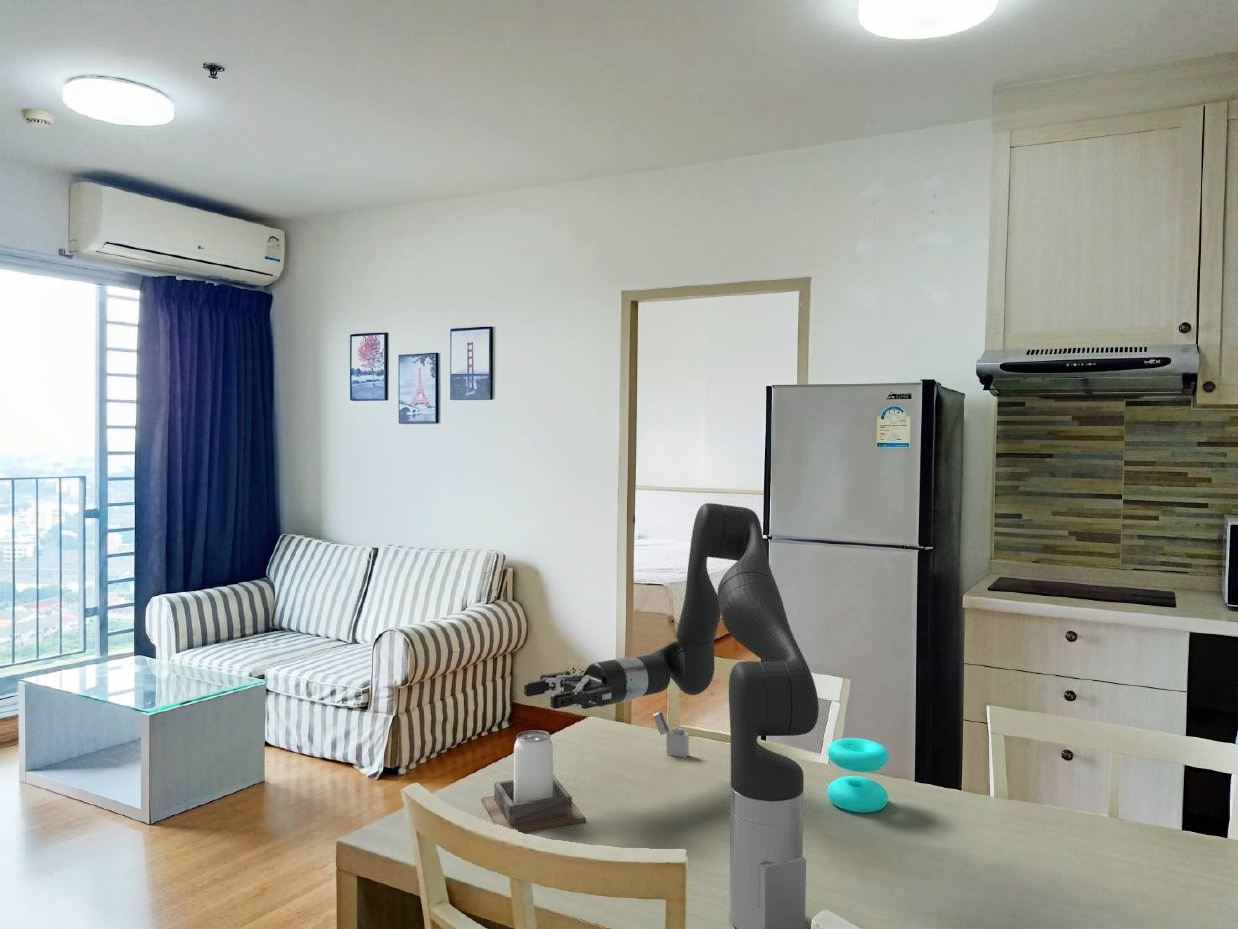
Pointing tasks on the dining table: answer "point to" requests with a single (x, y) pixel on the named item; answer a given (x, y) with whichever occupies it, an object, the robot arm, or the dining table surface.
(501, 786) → the can stand
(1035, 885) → the dining table surface
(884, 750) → the donuts
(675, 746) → the lighter
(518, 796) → the can
